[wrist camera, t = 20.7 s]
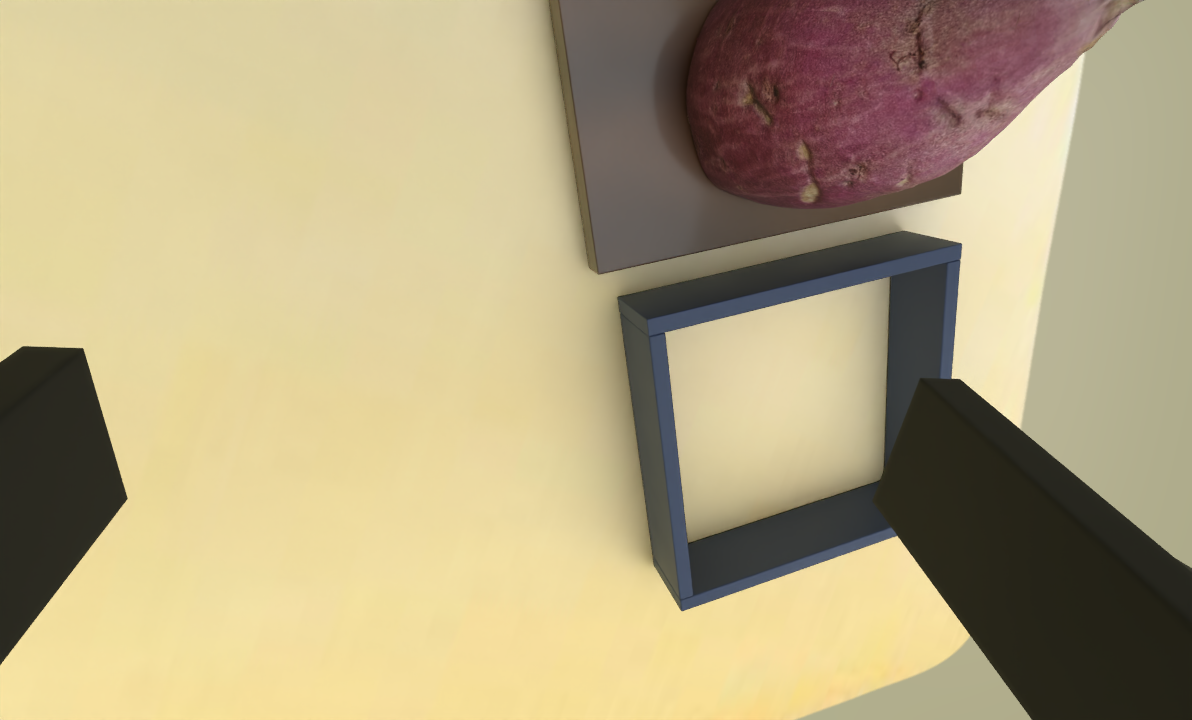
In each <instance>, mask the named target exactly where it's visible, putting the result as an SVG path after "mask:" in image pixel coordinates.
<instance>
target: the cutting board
mask: <svg viewBox="0 0 1192 720" xmlns="http://www.w3.org/2000/svg"><path fill="white" fill-rule="evenodd" d="M718 1H719V0H549V4H550V10H551V17H552V24H553V30H554V37H555V44H556V50H557V57H558V64H559V70H560V77H561V84H562V90H563V97H564V104H565V110H566V117H567V124H568V130H569V137H570V144H571V150H572V157H573V164H574V170H575V177H576V184H577V190H578V197H579V204H580V210H581V217H582V223H583V230H584V237H585V243H586V250H587V257H588V263H589V268H590V269H592V270H593V271H594V272H596V273H597V274H604V273H608V272H613V271H617V270H622V269H626V268H631V267H635V266H640V265H644V264H649V263H653V262H658V261H662V260H667V259H671V258H676V257H680V256H685V255H689V254H694V253H698V252H703V251H707V250H712V249H716V248H721V247H725V246H730V245H734V244H739V243H743V242H748V241H752V240H757V239H761V238H766V237H770V236H775V235H779V234H784V233H788V232H793V231H797V230H802V229H806V228H811V227H815V226H820V225H824V224H829V223H833V222H838V221H842V220H847V219H851V218H856V217H860V216H865V215H869V214H874V213H878V212H883V211H887V210H892V209H896V208H901V207H905V206H910V205H914V204H919V203H923V202H928V201H932V200H937V199H941V198H946V197H950V196H955V195H959V194H961V187H962V173H963V163H962V164H960V165H959V166H958V167H956V168H955V169H953V170H951V171H950V172H948V173H946V174H945V175H942V176H940V177H937V178H935V179H932V180H930V181H927V182H924V183H921V184H918V185H916V186H915V187H913V188H910V189H905V190H902V191H899V192H895V193H891V194H887V195H883V196H879V197H876V198H873V199H870V200H866V201H862V202H858V203H854V204H850V205H846V206H841V207H835V208H823V209H794V208H783V207H777V206H771V205H766V204H760V203H757V202H755V201H752V200H748V199H745V198H741V197H739V196H736V195H733V194H730V193H728V192H725V191H722V190H720V189H719V188H717V187H716V186H715V185H714V184H713V183H712V182H711V181H710V180H709V179H708V177H707V176H706V174H705V172H704V170H703V168H702V167H701V164H700V161H699V158H698V155H697V152H696V149H695V145H694V141H693V138H692V134H691V128H690V124H689V121H688V117H687V110H686V95H685V94H686V87H687V79H688V74H689V70H690V65H691V60H692V56H693V54H694V50H695V46H696V38H697V37H698V36H699V33H700V32H701V30H702V28H703V25H704V23H705V21H706V19H707V17H708V15H709V13H710V11H711V9H713V7H714V6H715V5H716V3H717V2H718Z"/></svg>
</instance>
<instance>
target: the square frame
mask: <svg viewBox="0 0 1192 720" xmlns="http://www.w3.org/2000/svg"><path fill="white" fill-rule="evenodd" d="M961 250H962V244H961V243H957V242H953V241H948V240H943V239H939V238H934V237H930V236H925V235H921V234H916V233H911V232H907V231H901V232H897V233H893V234H888V235H884V236H880V237H875V238H871V239H867V240H862V241H858V242H854V243H849V244H845V245H841V246H836V247H832V248H828V249H824V250H819V251H815V252H811V253H806V254H802V255H798V256H793V257H789V258H785V259H780V260H776V261H772V262H767V263H763V264H759V265H754V266H750V267H746V268H742V269H737V270H733V271H729V272H724V273H720V274H716V275H711V276H707V277H703V278H698V279H694V280H690V281H685V282H681V283H677V284H672V285H668V286H664V287H659V288H655V289H651V290H647V291H642V292H638V293H634V294H629V295H625V296H621V297H618V304H619V311H620V317H621V325H622V332H623V339H624V347H625V354H626V362H627V369H628V376H629V384H630V391H631V399H632V406H633V413H634V421H635V428H636V436H637V443H638V450H639V458H640V465H641V473H642V480H643V487H644V495H645V502H646V510H647V517H648V524H649V532H650V539H651V547H652V554H653V562H654V566H655V568H656V570H657V571H658V573H659V575H660V576H661V578H662V580H663V581H664V583H665V585H666V586H667V588H668V590H669V591H670V593H671V595H672V596H673V598H674V600H675V601H676V603H677V605H678V606H679V608H680V610H681V611H685V610H687V609H690V608H693V607H696V606H699V605H702V604H704V603H707V602H710V601H713V600H716V599H719V598H721V597H724V596H727V595H730V594H733V593H736V592H739V591H741V590H744V589H747V588H750V587H753V586H756V585H758V584H761V583H764V582H767V581H770V580H773V579H775V578H778V577H781V576H784V575H787V574H790V573H793V572H795V571H798V570H801V569H804V568H807V567H810V566H812V565H815V564H818V563H821V562H824V561H827V560H830V559H832V558H835V557H838V556H841V555H844V554H847V553H849V552H852V551H855V550H858V549H861V548H864V547H866V546H869V545H872V544H875V543H878V542H881V541H884V540H886V539H889V538H892V537H895V536H897V534H896V533H895V532H894V530H893V529H892V528H891V526H890V525H889V523H888V522H887V521H886V519H885V518H884V517H883V515H882V514H881V513H880V511H879V510H878V508H877V507H876V506H875V504H874V503H873V502H872V500H873V498H874V495H875V493H876V490H877V487H878V485H879V482H880V481H878V482H875V483H872V484H869V485H866V486H863V487H860V488H857V489H854V490H851V491H848V492H845V493H842V494H839V495H836V496H833V497H830V498H827V499H824V500H821V501H817V502H814V503H811V504H808V505H805V506H802V507H799V508H796V509H793V510H790V511H787V512H784V513H781V514H778V515H775V516H772V517H769V518H766V519H763V520H760V521H756V522H753V523H750V524H747V525H744V526H741V527H738V528H735V529H732V530H729V531H726V532H723V533H720V534H717V535H714V536H711V537H708V538H705V539H702V540H698V541H695V542H692V543H689V544H688V541H687V532H686V523H685V514H684V504H683V495H682V486H681V477H680V467H679V458H678V449H677V440H676V430H675V421H674V412H673V403H672V393H671V384H670V375H669V366H668V356H667V347H666V338H665V333H664V332H668V331H672V330H676V329H680V328H684V327H688V326H692V325H696V324H700V323H705V322H709V321H713V320H717V319H721V318H725V317H729V316H733V315H737V314H741V313H745V312H749V311H753V310H757V309H761V308H765V307H769V306H773V305H777V304H781V303H785V302H789V301H793V300H797V299H801V298H805V297H809V296H813V295H817V294H821V293H825V292H829V291H833V290H837V289H841V288H845V287H849V286H854V285H858V284H862V283H866V282H870V281H874V280H878V279H882V278H886V277H890V276H891V289H890V318H889V348H888V377H887V406H886V435H885V464H884V469H885V467H886V464H887V462H888V459H889V457H890V454H891V451H892V449H893V446H894V444H895V441H896V439H897V436H898V433H899V431H900V428H901V426H902V423H903V421H904V418H905V415H906V413H907V410H908V408H909V405H910V403H911V400H912V397H913V395H914V392H915V390H916V387H917V385H918V382H919V379H920V378H939V379H951V376H952V363H953V350H954V337H955V323H956V310H957V297H958V284H959V271H960V260H959V259H961Z"/></svg>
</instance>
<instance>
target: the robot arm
mask: <svg viewBox="0 0 1192 720" xmlns="http://www.w3.org/2000/svg"><path fill="white" fill-rule="evenodd" d="M127 499H128V498H127V495H126V492H125V488H124V485H123V482H122V478H121V475H120V471H119V468H118V465H117V461H116V458H115V454H114V451H113V448H112V444H111V441H110V437H109V434H108V431H107V427H106V424H105V421H104V417H103V414H102V410H101V407H100V404H99V400H98V397H97V393H96V390H95V387H94V383H93V380H92V377H91V373H90V370H89V366H88V363H87V360H86V356H85V353H84V349H83V348H57V347H29V346H23V347H21V348H20V349H19V350H17V351H16V352H14V353H13V354H11V355H10V356H9V357H7V358H6V359H4V360H3V361H2V362H0V665H1V663H2V662H3V661H4V659H5V658H6V657H7V656H8V654H9V653H10V652H11V650H12V649H13V648H14V646H15V645H16V644H17V642H18V641H19V640H20V639H21V637H22V636H23V635H24V633H25V632H26V631H27V629H28V628H29V627H30V626H31V624H32V623H33V622H34V620H35V619H36V618H37V616H38V615H39V614H40V612H41V611H42V610H43V609H44V607H45V606H46V605H47V603H48V602H49V601H50V599H51V598H52V597H53V595H54V594H55V593H56V592H57V590H58V589H59V588H60V586H61V585H62V584H63V582H64V581H65V580H66V579H67V577H68V576H69V575H70V573H71V572H72V571H73V569H74V568H75V567H76V565H77V564H78V563H79V562H80V560H81V559H82V558H83V556H84V555H85V554H86V552H87V551H88V550H89V548H90V547H91V546H92V545H93V543H94V542H95V541H96V539H97V538H98V537H99V535H100V534H101V533H102V532H103V530H104V529H105V528H106V526H107V525H108V524H109V522H110V521H111V520H112V518H113V517H114V516H115V515H116V513H117V512H118V511H119V509H120V508H121V507H122V505H123V504H124V503H125V501H126V500H127ZM872 502H873V503H874V504H875V506H876V507H877V508H878V510H879V511H880V513H881V514H882V515H883V517H884V518H885V519H886V521H887V522H888V523H889V525H890V526H891V528H892V529H893V530H894V532H895V533H896V534H897V536H898V537H899V538H900V540H901V541H902V543H903V544H904V545H905V547H906V548H907V549H908V551H909V552H910V554H911V555H912V556H913V558H914V559H915V560H916V562H917V563H918V564H919V566H920V567H921V569H922V570H923V571H924V573H925V574H926V575H927V577H928V578H929V579H930V581H931V582H932V584H933V585H934V586H935V588H936V589H937V590H938V592H939V593H940V595H941V596H942V597H943V599H944V600H945V601H946V603H947V604H948V605H949V607H950V608H951V610H952V611H953V612H954V614H955V615H956V616H957V618H958V619H959V620H960V622H961V623H962V625H963V626H964V627H965V629H966V630H967V631H968V633H969V634H970V636H971V637H972V638H973V640H974V641H975V642H976V644H977V645H978V646H979V648H980V649H981V651H982V652H983V653H984V654H985V656H986V657H987V659H988V660H989V661H990V663H991V664H992V666H993V667H994V668H995V670H996V671H997V672H998V674H999V675H1000V676H1001V678H1002V679H1003V681H1004V682H1005V683H1006V685H1007V686H1008V687H1009V689H1010V690H1011V692H1012V693H1013V694H1014V695H1015V697H1016V698H1017V700H1018V701H1019V702H1020V704H1021V705H1022V706H1023V708H1024V709H1025V710H1026V712H1027V713H1028V715H1029V716H1030V717H1031V719H1032V720H1192V568H1190V567H1189V566H1187V565H1185V564H1184V563H1182V562H1180V561H1179V560H1177V559H1175V558H1174V557H1173V556H1172V555H1170V554H1169V553H1168V552H1167V551H1166V550H1164V549H1163V548H1162V547H1161V546H1160V545H1158V544H1157V543H1156V542H1155V541H1154V540H1152V539H1151V538H1150V537H1149V536H1148V535H1146V534H1145V533H1144V532H1143V531H1142V530H1140V529H1139V528H1138V527H1137V526H1136V525H1134V524H1133V523H1132V522H1131V521H1130V520H1128V519H1127V518H1126V517H1125V516H1124V515H1122V514H1121V513H1120V512H1119V511H1118V510H1116V509H1115V508H1114V507H1113V506H1112V505H1110V504H1109V503H1108V502H1107V501H1106V500H1104V499H1103V498H1102V497H1101V496H1100V495H1098V494H1097V493H1096V492H1095V491H1093V490H1092V489H1091V488H1090V487H1089V486H1088V485H1086V484H1085V483H1084V482H1083V481H1082V480H1080V479H1079V478H1078V477H1077V476H1076V475H1074V474H1073V473H1072V472H1071V471H1069V470H1068V469H1067V468H1066V467H1065V466H1064V465H1062V464H1061V463H1060V462H1059V461H1057V460H1056V459H1055V458H1054V457H1053V456H1051V455H1050V454H1049V453H1048V452H1047V451H1046V450H1044V449H1043V448H1042V447H1041V446H1039V445H1038V444H1037V443H1036V442H1035V441H1034V440H1032V439H1031V438H1030V437H1028V436H1027V435H1026V434H1025V433H1024V432H1023V431H1021V430H1020V429H1019V428H1018V427H1017V426H1015V425H1014V424H1013V423H1012V422H1011V421H1009V420H1008V419H1007V418H1006V417H1005V416H1003V415H1002V414H1001V413H1000V412H999V411H997V410H996V409H995V408H994V407H993V406H991V405H990V404H989V403H988V402H987V401H985V400H984V399H983V398H982V397H981V396H979V395H978V394H977V393H976V392H975V391H973V390H972V389H971V388H970V387H969V386H967V385H966V384H965V383H964V382H963V381H961V380H960V379H939V378H920V379H919V382H918V385H917V387H916V390H915V392H914V395H913V397H912V400H911V403H910V405H909V408H908V410H907V413H906V415H905V418H904V421H903V423H902V426H901V428H900V431H899V433H898V436H897V439H896V441H895V444H894V446H893V449H892V451H891V454H890V457H889V459H888V462H887V464H886V467H885V469H884V472H883V475H882V477H881V480H880V482H879V485H878V487H877V490H876V493H875V495H874V498H873V500H872Z"/></svg>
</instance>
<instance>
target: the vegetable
mask: <svg viewBox="0 0 1192 720" xmlns="http://www.w3.org/2000/svg"><path fill="white" fill-rule="evenodd" d="M1141 1H1144V0H719V1H718V2H717V3H716V5H715V6H714V7H713V9H711V11H710V13H709V15H708V17H707V19H706V21H705V23H704V25H703V28H702V30H701V32H700V33H699V36H698V37H697V38H696V46H695V50H694V54H693V56H692V60H691V65H690V70H689V74H688V79H687V87H686V94H685V95H686V110H687V117H688V121H689V124H690V128H691V134H692V138H693V141H694V145H695V149H696V152H697V155H698V158H699V161H700V164H701V167H702V168H703V170H704V172H705V174H706V176H707V177H708V179H709V180H710V181H711V182H712V183H713V184H714V185H715V186H716V187H717V188H719V189H720V190H722V191H725V192H728V193H730V194H733V195H736V196H739V197H741V198H745V199H748V200H752V201H755V202H757V203H760V204H766V205H771V206H777V207H783V208H794V209H823V208H835V207H841V206H846V205H850V204H854V203H858V202H862V201H866V200H870V199H873V198H876V197H879V196H883V195H887V194H891V193H895V192H899V191H902V190H905V189H910V188H913V187H915V186H916V185H918V184H921V183H924V182H927V181H930V180H932V179H935V178H937V177H940V176H942V175H945V174H946V173H948V172H950V171H951V170H953V169H955V168H956V167H958V166H959V165H960V164H962V163H963V162H964V161H966V160H967V159H968V158H970V157H972V156H974V155H975V154H976V153H978V152H979V151H980V150H981V149H982V148H983V147H985V146H986V145H987V144H988V143H989V142H990V141H991V140H992V139H993V138H994V137H995V136H997V135H998V134H999V133H1000V132H1001V131H1002V130H1004V129H1005V128H1006V127H1007V126H1008V125H1009V124H1010V123H1011V122H1012V121H1013V120H1014V119H1015V118H1016V117H1017V116H1018V115H1019V114H1020V113H1021V112H1022V111H1023V109H1024V108H1025V107H1026V106H1027V105H1028V104H1029V103H1030V102H1031V101H1032V100H1033V99H1034V98H1035V97H1036V96H1037V95H1038V94H1039V93H1040V92H1041V91H1042V90H1043V89H1044V88H1045V87H1047V86H1048V85H1049V84H1050V83H1051V82H1052V81H1053V80H1054V79H1056V78H1057V77H1058V76H1059V75H1060V74H1062V73H1063V72H1064V71H1066V70H1067V69H1068V68H1069V67H1071V66H1072V64H1073V63H1074V62H1075V61H1076V60H1077V59H1078V57H1079V56H1080V55H1081V54H1082V53H1084V52H1086V51H1087V50H1089V49H1090V48H1092V47H1093V46H1094V45H1095V43H1096V42H1097V41H1098V40H1099V39H1100V38H1101V37H1102V36H1103V35H1104V34H1105V33H1106V32H1107V31H1108V30H1110V29H1111V28H1112V27H1113V26H1114V24H1115V23H1116V22H1117V20H1118V19H1119V17H1120V15H1121V13H1123V12H1124V11H1126V10H1127V9H1129V8H1130V7H1132V6H1133V5H1135V4H1137V3H1139V2H1141Z"/></svg>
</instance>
